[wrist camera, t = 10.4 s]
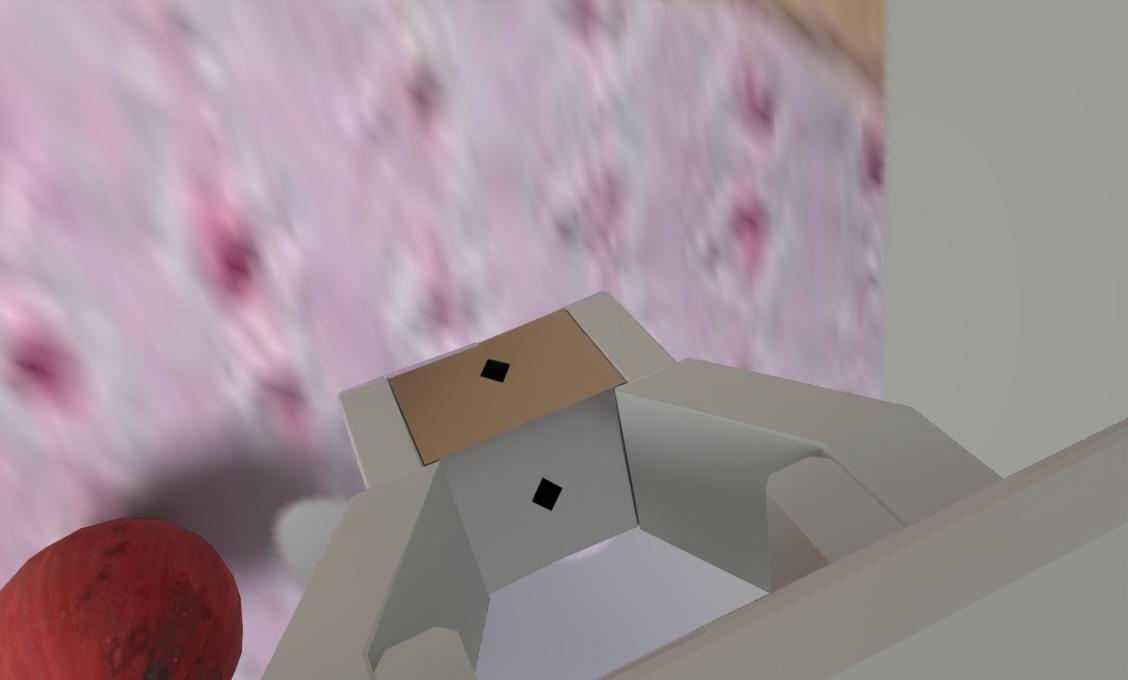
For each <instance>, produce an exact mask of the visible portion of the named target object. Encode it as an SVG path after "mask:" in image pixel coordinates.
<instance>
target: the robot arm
mask: <svg viewBox="0 0 1128 680" xmlns="http://www.w3.org/2000/svg"><path fill="white" fill-rule="evenodd" d="M386 377H387V379H386V378H385V377H383V376H381V377H378V378H376V379H373V380H371V381H368V382H366V383H363V384H360V385H358V386H355V387H353V388H350V389H348V390H345V391H342V392H340V393H338V404H339V407H340V410H341V413H342V416H343V419H344V422H345V425H346V429H347V432H348V435H349V438H350V441H351V444H352V447H353V450H354V453H355V457H356V460H357V463H358V466H359V469H360V472H361V475H362V478H363V481H364V484H365V488H366V491H364V492H362V493H360V494H357V495H355V496H353V497H352V498H351V500H350V502H349V504H348V506H347V508H346V510H345V512H344V514H343V516H342V518H341V520H340V522H339V525H338V526H337V528H336V530H335V532H334V535H333V536H332V539H331V540H330V542H329V545H328V546H327V548H326V550H325V553H324V554H323V556H322V558H321V560H320V563H319V564H318V566H317V568H316V570H315V572H314V574H313V576H312V579H311V580H310V582H309V584H308V586H307V588H306V590H305V592H304V594H303V596H302V598H301V600H300V602H299V604H298V606H297V608H296V610H295V612H294V614H293V616H292V618H291V620H290V622H289V624H288V626H287V628H286V630H285V632H284V634H283V636H282V638H281V640H280V642H279V644H278V646H277V648H276V650H275V652H274V654H273V656H272V658H271V660H270V662H269V664H268V666H267V668H266V670H265V672H264V674H263V676H262V678H261V680H477V679H476V676H475V670H476V665H477V660H478V655H479V650H480V645H481V640H482V635H483V630H484V626H485V621H486V616H487V611H488V605H489V600H490V598H489V595H488V594H490V593H492V592H494V591H496V590H498V589H500V588H502V587H504V586H506V585H508V584H510V583H512V582H514V581H516V580H519V579H521V578H523V577H525V576H527V575H529V574H531V573H533V572H535V571H537V570H539V569H541V568H543V567H546V566H547V565H550V564H552V563H554V562H556V561H558V560H560V559H562V558H564V557H567V556H569V555H571V554H574V553H576V552H579V551H581V550H583V549H586V548H588V547H590V546H593V545H595V544H598V543H600V542H602V541H605V540H607V539H609V538H612V537H614V536H617V535H619V534H621V533H624V532H626V531H628V530H631V529H633V528H635V527H638V526H640V529H641V530H643V531H645V532H647V533H649V534H651V535H653V536H655V537H657V538H659V539H662V540H663V541H665V542H667V543H670V544H672V545H674V546H676V547H678V548H680V549H682V550H684V551H686V552H688V553H690V554H692V555H694V556H696V557H698V558H700V559H702V560H704V561H706V562H708V563H710V564H712V565H714V566H716V567H718V568H720V569H722V570H724V571H726V572H728V573H730V574H732V575H735V576H737V577H739V578H741V579H743V580H745V581H747V582H749V583H751V584H753V585H755V586H757V587H759V588H761V589H763V590H765V591H767V592H769V594H767V595H765V596H763V597H761V598H759V599H757V600H755V601H753V602H751V603H749V604H747V605H745V606H743V607H741V608H739V609H737V610H735V611H733V612H730V613H728V614H726V615H725V616H722V617H720V618H718V619H717V620H714V621H712V622H710V623H708V624H706V625H704V626H702V627H700V628H698V629H696V630H694V631H692V632H690V633H688V634H686V635H684V636H682V637H680V638H677V639H676V640H674V641H672V642H669V643H667V644H665V645H663V646H661V647H659V648H657V649H655V650H653V651H651V652H649V653H647V654H645V655H643V656H641V657H639V658H637V659H635V660H633V661H631V662H629V663H626V664H624V665H622V666H621V667H618V668H616V669H614V670H612V671H610V672H608V673H606V674H604V675H602V676H600V677H598V678H596V679H594V680H1128V418H1127V419H1125V420H1123V421H1121V422H1119V423H1117V424H1115V425H1113V426H1111V427H1109V428H1107V429H1105V430H1103V431H1100V432H1098V433H1096V434H1094V435H1092V436H1090V437H1088V438H1086V439H1084V440H1082V441H1080V442H1078V443H1076V444H1074V445H1072V446H1070V447H1068V448H1066V449H1064V450H1062V451H1060V452H1058V453H1056V454H1054V455H1052V456H1050V457H1047V458H1045V459H1044V460H1041V461H1039V462H1037V463H1035V464H1033V465H1031V466H1029V467H1027V468H1025V469H1023V470H1021V471H1019V472H1017V473H1015V474H1013V475H1011V476H1009V477H1007V478H1005V479H1003V478H1002V477H1000V476H999V475H998V474H996V473H995V472H994V471H993V470H991V469H990V468H989V467H988V466H986V465H985V464H984V463H982V462H981V461H980V460H978V459H977V458H976V457H975V456H973V455H972V454H971V453H970V452H968V451H967V450H966V449H964V448H963V447H962V446H961V445H959V444H958V443H957V442H955V441H954V440H953V439H952V438H950V437H949V436H948V435H947V434H945V433H944V432H943V431H942V430H940V429H939V428H938V427H936V426H935V425H934V424H932V423H931V422H930V421H929V420H927V419H926V418H925V417H924V416H922V415H921V414H920V413H919V412H917V411H916V410H915V409H913V408H912V407H908V406H904V405H899V404H894V403H891V402H886V401H882V400H877V399H873V398H868V397H864V396H859V395H855V394H850V393H846V392H841V391H837V390H832V389H828V388H823V387H819V386H814V385H810V384H805V383H801V382H796V381H792V380H787V379H783V378H778V377H774V376H769V375H765V374H760V373H756V372H751V371H747V370H742V369H738V368H733V367H729V366H724V365H720V364H715V363H711V362H706V361H702V360H697V359H693V358H688V359H685V360H683V361H680V362H678V363H677V362H676V361H675V360H674V359H673V358H672V357H671V356H670V355H669V354H668V353H667V352H666V351H665V350H664V348H663V347H662V346H661V345H660V344H659V343H658V342H657V341H656V340H655V339H654V338H653V337H652V336H651V335H650V334H649V333H648V332H647V331H646V330H645V329H644V328H643V327H642V326H641V325H640V324H639V323H638V322H637V321H636V320H635V319H634V318H633V317H632V316H631V315H630V314H629V313H628V312H627V311H626V310H625V309H624V308H623V306H622V305H621V304H620V303H619V302H618V301H617V300H616V299H615V298H614V297H613V296H612V295H611V294H610V293H607V292H603V291H601V292H599V293H597V294H594V295H592V296H590V297H587V298H585V299H582V300H580V301H578V302H575V303H573V304H571V305H568V306H566V307H564V308H561V310H558V311H556V312H553V313H551V314H548V315H546V316H543V317H541V318H538V319H536V320H534V321H531V322H529V323H526V324H524V325H521V326H519V327H516V328H514V329H511V330H509V331H506V332H504V333H502V334H499V335H497V336H494V337H492V338H489V339H487V340H484V341H482V342H479V343H473V344H470V345H468V346H465V347H462V348H459V349H456V350H454V351H451V352H448V353H445V354H443V355H440V356H437V357H434V358H432V359H429V360H426V361H423V362H420V363H418V364H415V365H412V366H409V367H407V368H404V369H401V370H398V371H396V372H393V373H390V374H387V375H386ZM387 380H388V381H387Z"/></svg>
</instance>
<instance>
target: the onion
mask: <svg viewBox="0 0 1128 680" xmlns="http://www.w3.org/2000/svg"><path fill="white" fill-rule="evenodd" d="M242 637H243V625H242V610H241V597H240V595H239V592H238V589H237V586H236V583H235V580H234V577H233V575H232V574H231V572H230V571H229V569H228V568H227V566H226V565H225V563H224V562H223V561H222V559H221V558H220V556H219V555H218V553H217V552H216V550H215V549H214V548H213V547H212V546H211V545H210V544H209V543H207V542H206V541H205V540H204V539H202V538H201V537H200V536H198V535H196V534H194V533H192V532H190V531H188V530H186V529H184V528H182V527H180V526H178V525H175V524H173V523H171V522H169V521H167V520H159V519H139V518H119V519H115V520H111V521H108V522H104V523H100V524H96V525H92V526H88V527H84V528H81V529H79V530H77V531H75V532H73V533H72V534H70V535H68V536H66V537H64V538H63V539H61V540H59V541H57V542H55V543H53V544H52V545H50V546H48V547H46V548H45V549H43V550H42V551H40V552H39V553H37V554H36V555H34V556H33V557H31V558H30V559H29V560H28V561H27V562H26V563H25V564H24V565H23V566H22V567H21V568H20V570H19V571H18V572H17V573H16V574H15V575H14V576H13V577H12V578H11V580H10V581H9V582H8V583H7V584H6V585H5V586H4V587H3V588H2V590H1V591H0V680H231V679H232V677H233V675H234V672H235V670H236V667H237V664H238V662H239V659H240V656H241V654H242Z"/></svg>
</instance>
